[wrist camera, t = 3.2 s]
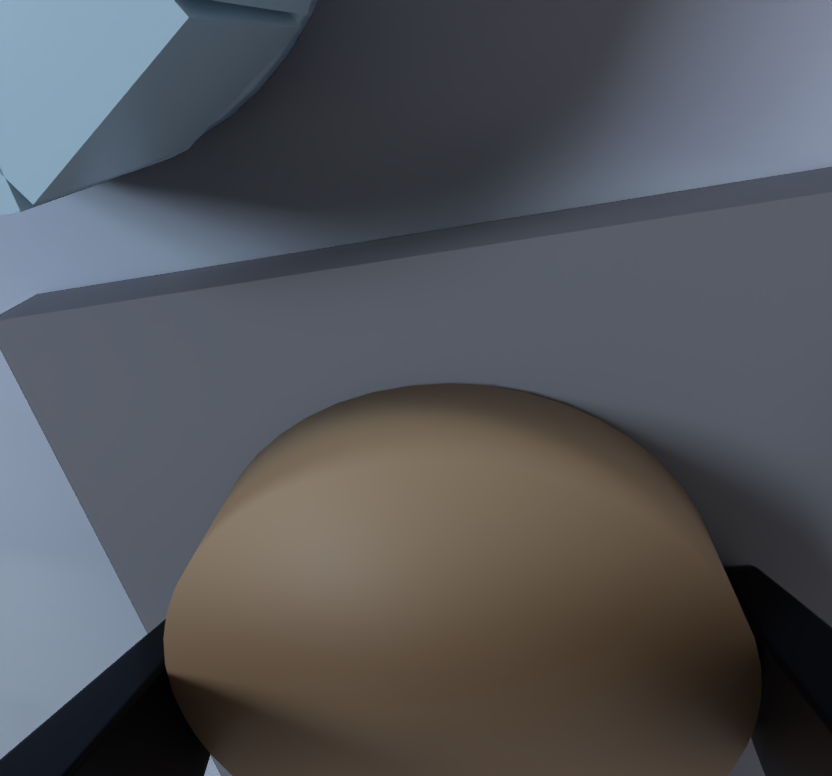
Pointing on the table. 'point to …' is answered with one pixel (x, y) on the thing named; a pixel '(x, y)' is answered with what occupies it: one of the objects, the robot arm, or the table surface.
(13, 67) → the bowl
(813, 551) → the mat
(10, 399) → the table surface
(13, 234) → the table surface
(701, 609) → the lid
